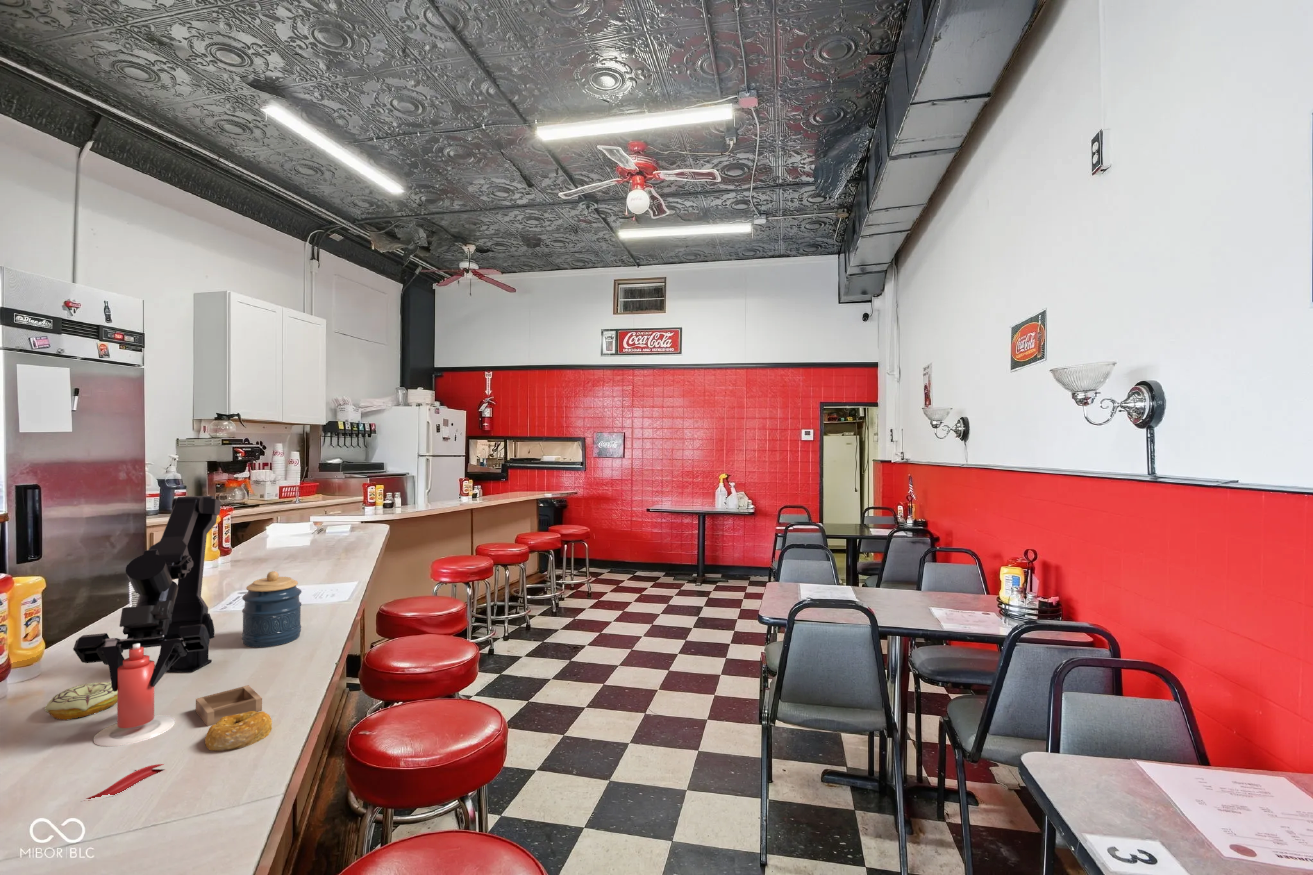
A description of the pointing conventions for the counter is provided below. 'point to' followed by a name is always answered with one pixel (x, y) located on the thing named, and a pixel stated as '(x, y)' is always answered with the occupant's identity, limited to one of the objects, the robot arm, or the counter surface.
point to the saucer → (134, 732)
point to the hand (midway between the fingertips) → (133, 688)
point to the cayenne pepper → (130, 780)
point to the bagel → (238, 731)
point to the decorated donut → (82, 700)
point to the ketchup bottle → (135, 689)
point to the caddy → (227, 704)
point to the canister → (271, 611)
